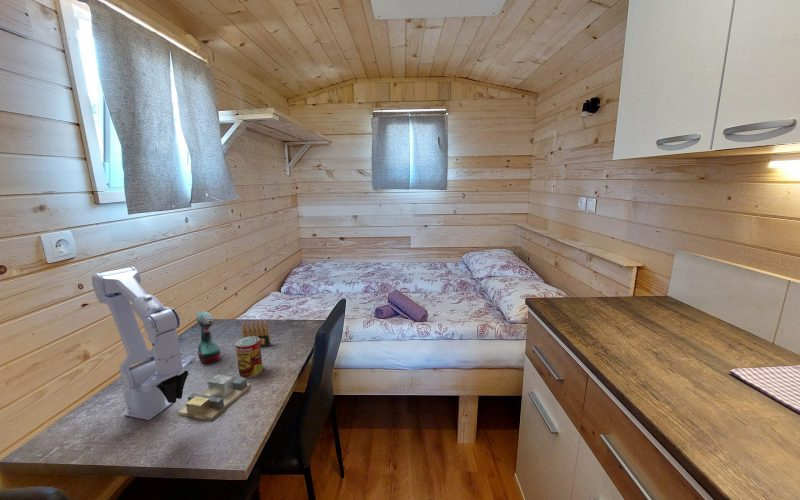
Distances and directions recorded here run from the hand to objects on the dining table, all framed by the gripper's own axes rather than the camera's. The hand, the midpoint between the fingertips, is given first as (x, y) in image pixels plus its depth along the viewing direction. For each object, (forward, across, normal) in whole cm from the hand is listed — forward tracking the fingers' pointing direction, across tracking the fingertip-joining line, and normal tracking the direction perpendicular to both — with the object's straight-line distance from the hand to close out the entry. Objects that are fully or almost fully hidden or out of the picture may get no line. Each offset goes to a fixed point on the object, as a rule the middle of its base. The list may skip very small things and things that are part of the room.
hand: (175, 399), depth 92 cm
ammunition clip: (+10, +47, +10) cm, 49 cm away
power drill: (+10, +33, +20) cm, 40 cm away
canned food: (+10, +30, 0) cm, 31 cm away
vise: (+9, +14, 0) cm, 16 cm away
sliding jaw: (+8, +8, 0) cm, 11 cm away
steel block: (+8, +16, 0) cm, 18 cm away
